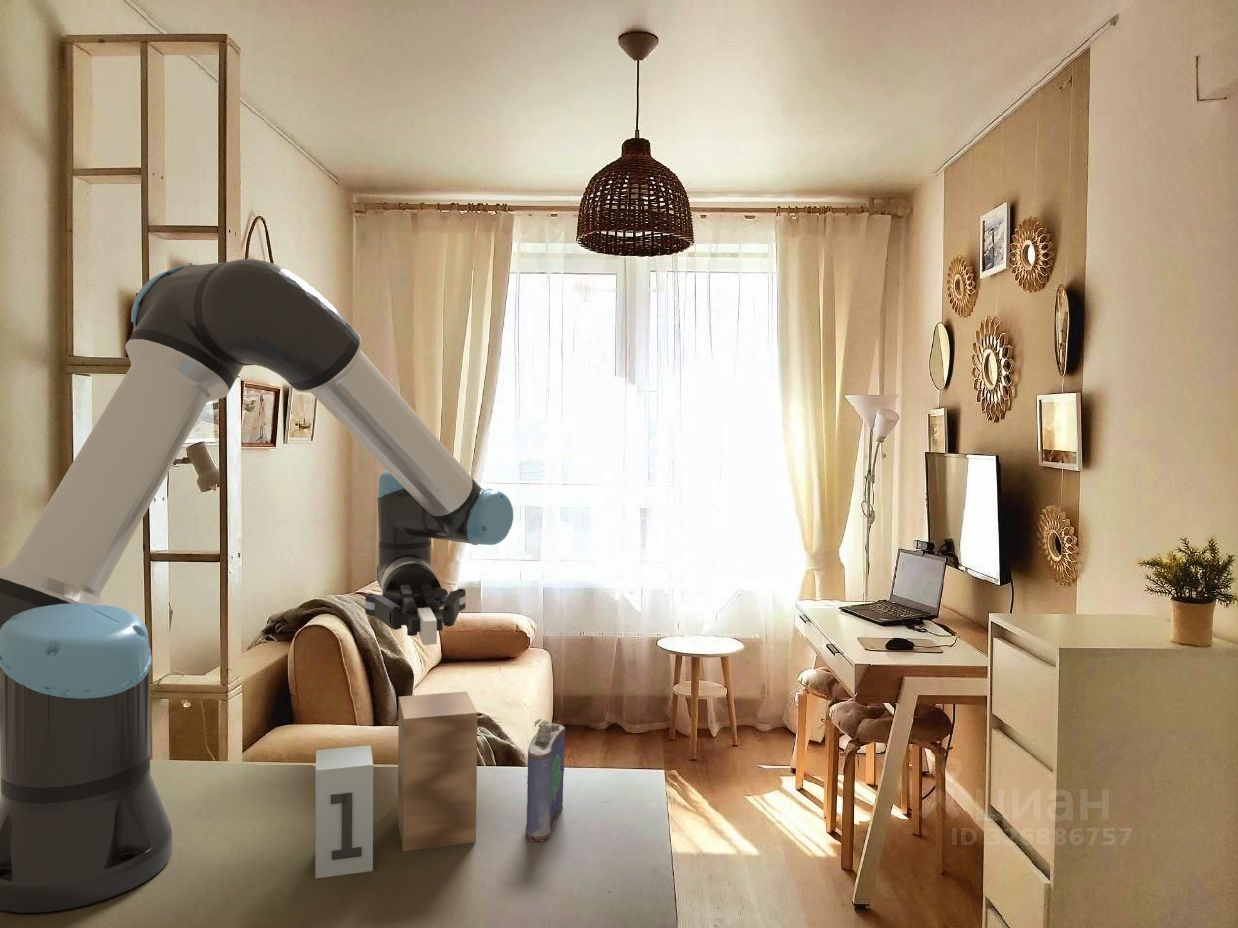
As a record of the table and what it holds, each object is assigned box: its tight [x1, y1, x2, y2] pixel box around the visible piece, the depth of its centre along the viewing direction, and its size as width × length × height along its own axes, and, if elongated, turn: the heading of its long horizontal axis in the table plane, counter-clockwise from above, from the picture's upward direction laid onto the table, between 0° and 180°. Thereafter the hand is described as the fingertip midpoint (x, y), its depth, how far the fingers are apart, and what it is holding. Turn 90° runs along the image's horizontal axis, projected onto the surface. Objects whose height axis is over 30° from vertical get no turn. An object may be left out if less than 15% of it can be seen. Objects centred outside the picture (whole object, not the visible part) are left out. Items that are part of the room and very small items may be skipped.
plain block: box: [397, 690, 478, 852], centre depth 91 cm, size 7×7×13 cm
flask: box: [525, 718, 566, 843], centre depth 93 cm, size 9×3×11 cm, turn 172°
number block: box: [315, 744, 374, 879], centre depth 84 cm, size 5×5×10 cm
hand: (430, 632), depth 100 cm, fingers closed
